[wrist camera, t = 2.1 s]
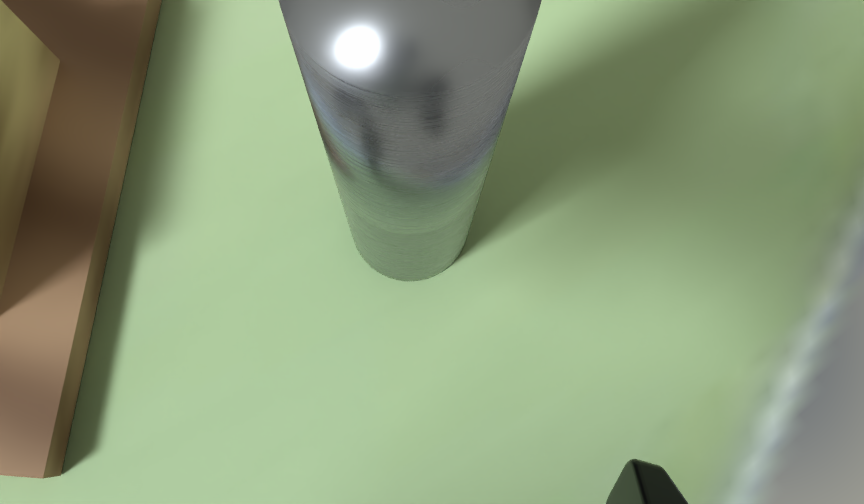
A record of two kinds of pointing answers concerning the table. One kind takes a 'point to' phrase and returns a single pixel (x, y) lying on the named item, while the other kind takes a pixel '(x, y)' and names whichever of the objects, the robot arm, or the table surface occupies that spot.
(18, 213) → the socket board
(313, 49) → the metal pin
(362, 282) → the table surface
